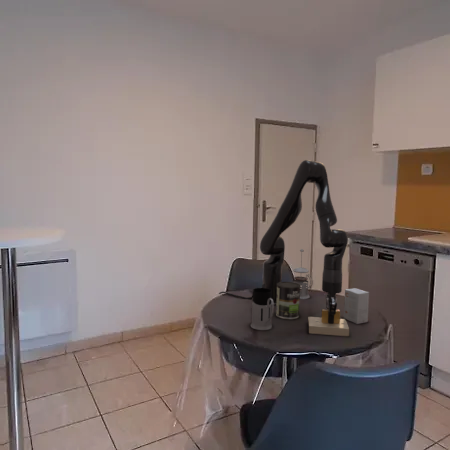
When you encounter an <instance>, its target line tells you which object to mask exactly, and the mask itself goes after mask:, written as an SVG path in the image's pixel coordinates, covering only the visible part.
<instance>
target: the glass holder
mask: <svg viewBox="0 0 450 450" xmlns="http://www.w3.org/2000/svg"><path fill="white" fill-rule="evenodd" d="M271 292H272V291H271V290H270V289H267V288H262V287H255V288H253V289H252V295H253V298H252V299H251V300H252V301H251V303H252V304H251V308H252V309H251V323H250V327H251V328H252V329H253V330H256V331H268V330H271V329H273V325H272V318H273V315H274V310H275V305H274V302H273V300H272V298H271ZM271 301H272V302H271Z"/></svg>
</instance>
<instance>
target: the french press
mask: <svg viewBox="0 0 450 450" xmlns="http://www.w3.org/2000/svg"><path fill="white" fill-rule="evenodd" d="M299 251H300V252H301V254H300V255H301V260H300V267H296V268H294V269H293V272H294V273H298V274H306V276H302V275H300V276H295V277H293V281H292V282H294V283H298V284H300V300H306V299H310V295H309V289H310V288H311V287H313V284H314V283H313V276H312V275H310V274H309V272H310V270H309V269H307V268H306V267H303V266H302V263H303V262H302V261H303V260H302V259H303V252H304V249H303V248H300V250H299ZM307 273H308V274H307ZM308 278H309V280H308ZM309 283H310V284H309Z"/></svg>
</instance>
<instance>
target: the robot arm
mask: <svg viewBox="0 0 450 450" xmlns="http://www.w3.org/2000/svg"><path fill="white" fill-rule="evenodd" d="M307 183H310V184H314V185H315V187H316V190H317V197H316V200H315V205H314V208H315V213H316V216H317V220H318V222H319V241H320V243H321V245H322V246H323V247H324V248H327V249H328V248H329V249H330V248H332V250H331V251H330V252H326V253H325V254H324V256H323V270H322V279H321V281H322V282H321V291H322V292H324V293H326V295H325V308H326V309H327V310H328V323H329V324H333V323H334V315H335V314H336V310H337V307H338V303H337V302H338V297H337V295H336V294H341V293H342V292H343V258H344V255H345V252H346V249H347V246H348V243H349V237H348V234H347V232H346V231H345V230H344V229H342V228H341V229H339V228H338V229H337V228H336V229H335V228H334V229H331V227H333V226H335V225H336V224H337V223H338V217H337V214H336V211H335V208H334V205H333V201H332V199H331V193H330V192H331V191H330V184H329V178H328V171H327V168H326V166H325V164H324V163H322V162H320V161H315V160H309V159H305V160H304V159H303V160H302V161H301V162H300V164H299V165H298V166H297V169H296V171H295V174H294V176H293V179H292V181H291V184H290V186H289V188H288V191H287V193H286V194H285V197H284V199H283V201H282V202H281V204H280V206H279V207H278V210H277V212H276V214H275V216H274V218H273V220H272V222H271V223H270V225H269V227H268V229H267V230H266V232H265V233H264V234H263V236H262V238H261V239H260V243H259V251H260V253H261V254H263V255H265V256H269V257H268V258H267V259H266V260H264V262H263V263H262V284H261V288H267V289H270V290H271V291H272V292H271V298H272V300H273V302H274V306H276V303H277V283H279V282H283V281H282V276H283V265H284V262H285V249H286V244H285V241H284V238H283V236H282V234H283V233H284V232H286V231H287V230H288V229H290V227H291V226H293V224H295V222H296V221H297V220H298V218H299V216H300V214H301V212H302V210H303V201H302V200H303V199H302V192H303V190H304V188H305V186H306V184H307ZM221 294H226V295H228V296H233V297H235V298H240V299H243V300H253V294H252V295H251V297H250V296H249V297H247V296H246V297H245V296H241V295H237V294H233V293H229V292H227V291H220V292H219V293H218V295H221ZM271 302H272V301H271Z"/></svg>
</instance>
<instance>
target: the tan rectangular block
mask: <svg viewBox="0 0 450 450" xmlns="http://www.w3.org/2000/svg"><path fill="white" fill-rule="evenodd" d="M320 318H321V322H322V323H328V310H327V308H326V309H325V308H321V316H320ZM340 319H341V310H340V309H336V314H335V315H334V323H335V324H340Z"/></svg>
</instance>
